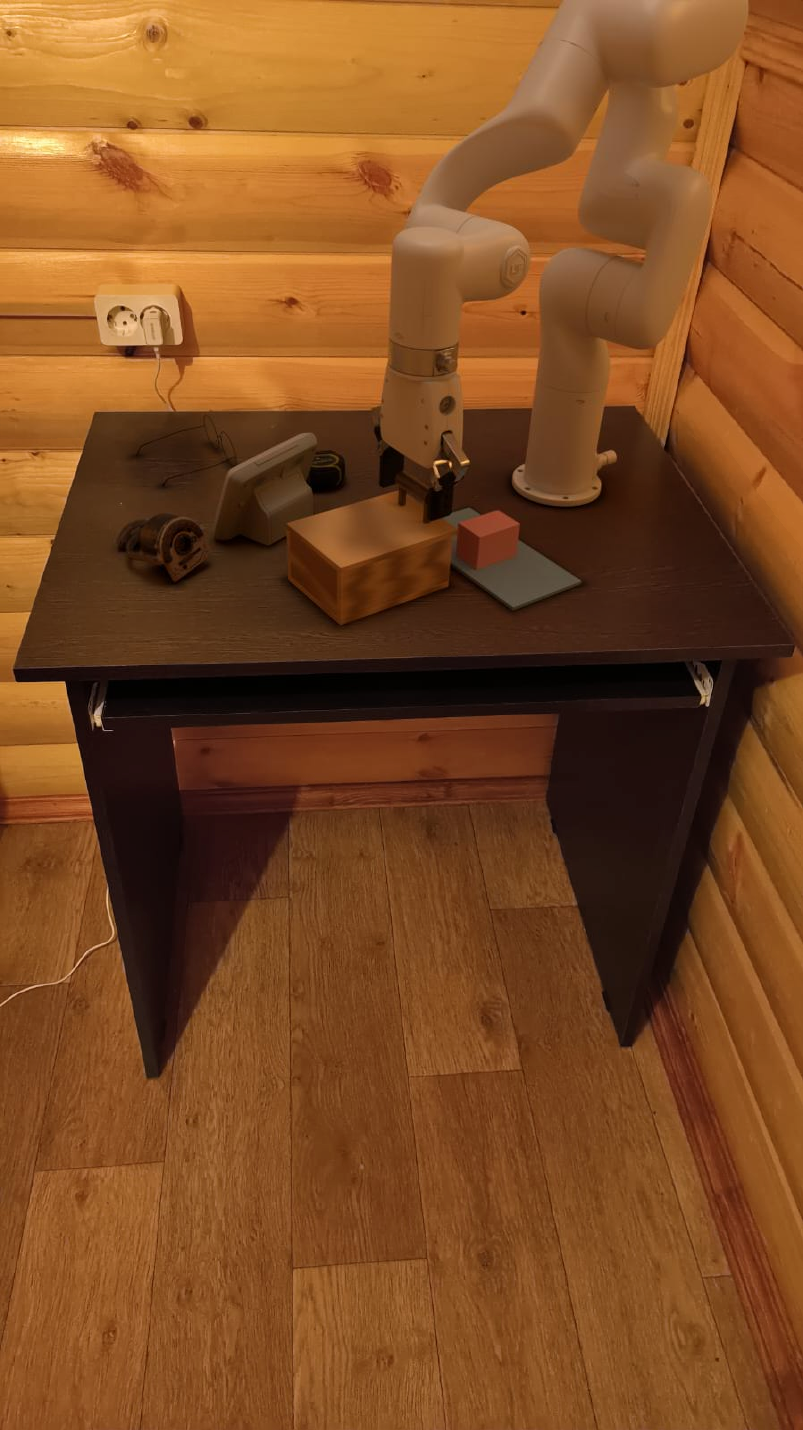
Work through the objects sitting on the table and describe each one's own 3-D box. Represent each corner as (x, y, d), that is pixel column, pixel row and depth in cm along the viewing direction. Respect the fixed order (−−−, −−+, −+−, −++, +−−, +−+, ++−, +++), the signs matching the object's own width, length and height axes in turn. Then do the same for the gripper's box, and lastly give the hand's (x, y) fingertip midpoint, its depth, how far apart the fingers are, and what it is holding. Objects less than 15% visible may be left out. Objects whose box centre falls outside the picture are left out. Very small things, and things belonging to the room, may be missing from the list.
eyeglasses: (164, 490, 139) (160, 455, 136) (133, 453, 148) (129, 420, 144) (240, 474, 144) (238, 440, 141) (206, 439, 152) (204, 407, 149)
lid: (400, 495, 127) (402, 457, 123) (458, 535, 120) (461, 496, 116) (286, 529, 119) (284, 489, 116) (340, 573, 112) (340, 533, 109)
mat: (469, 510, 139) (469, 507, 138) (581, 584, 125) (581, 580, 125) (403, 531, 133) (403, 528, 133) (512, 610, 120) (513, 607, 120)
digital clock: (296, 493, 140) (294, 419, 133) (339, 518, 135) (339, 443, 129) (197, 530, 131) (189, 453, 125) (239, 559, 126) (233, 480, 120)
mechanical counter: (127, 555, 116) (209, 522, 118) (96, 497, 123) (173, 466, 126) (147, 601, 121) (224, 568, 123) (115, 542, 129) (189, 513, 131)
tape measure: (334, 468, 147) (334, 444, 144) (352, 489, 142) (352, 464, 140) (289, 475, 144) (288, 450, 142) (305, 497, 140) (305, 471, 137)
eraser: (494, 541, 131) (498, 509, 128) (515, 556, 129) (520, 523, 126) (455, 555, 128) (458, 522, 125) (476, 570, 126) (479, 537, 123)
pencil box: (393, 545, 131) (395, 496, 126) (448, 586, 123) (452, 537, 119) (287, 579, 123) (286, 529, 119) (340, 625, 116) (340, 574, 112)
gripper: (501, 375, 106) (485, 523, 117) (404, 325, 117) (397, 465, 127) (444, 389, 102) (433, 540, 113) (349, 336, 113) (347, 479, 124)
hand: (414, 500), depth 120 cm, fingers open, 9 cm apart
